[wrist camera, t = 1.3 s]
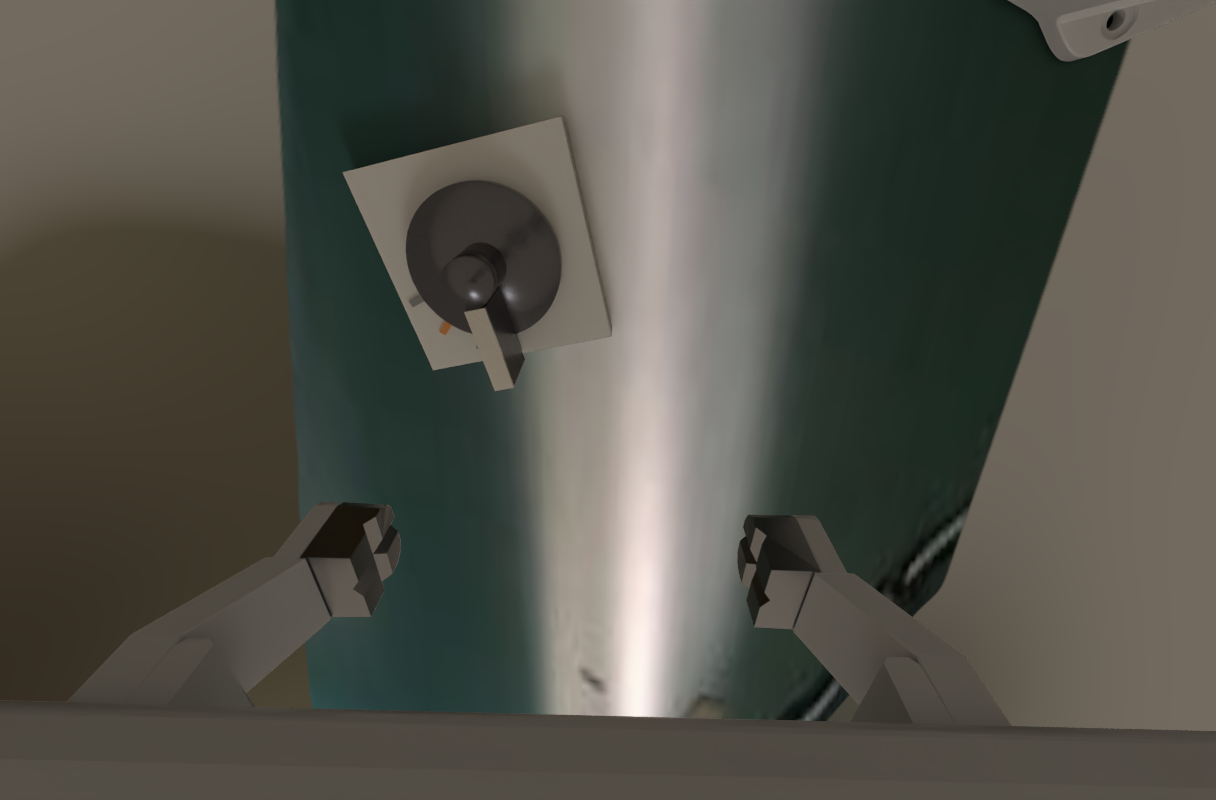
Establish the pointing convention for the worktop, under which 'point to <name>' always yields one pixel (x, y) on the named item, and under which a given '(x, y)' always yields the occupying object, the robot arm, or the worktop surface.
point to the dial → (485, 267)
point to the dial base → (518, 161)
